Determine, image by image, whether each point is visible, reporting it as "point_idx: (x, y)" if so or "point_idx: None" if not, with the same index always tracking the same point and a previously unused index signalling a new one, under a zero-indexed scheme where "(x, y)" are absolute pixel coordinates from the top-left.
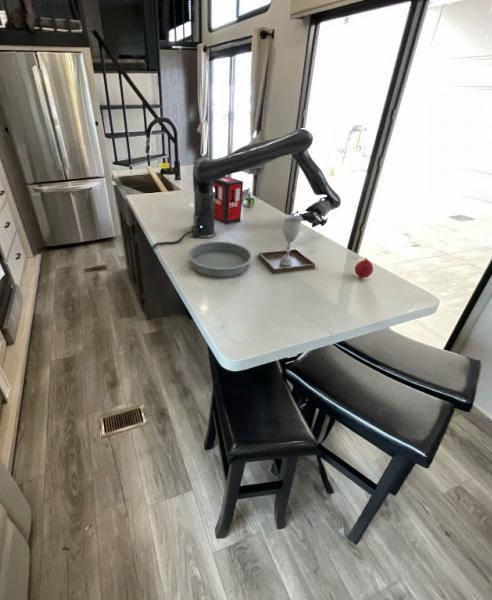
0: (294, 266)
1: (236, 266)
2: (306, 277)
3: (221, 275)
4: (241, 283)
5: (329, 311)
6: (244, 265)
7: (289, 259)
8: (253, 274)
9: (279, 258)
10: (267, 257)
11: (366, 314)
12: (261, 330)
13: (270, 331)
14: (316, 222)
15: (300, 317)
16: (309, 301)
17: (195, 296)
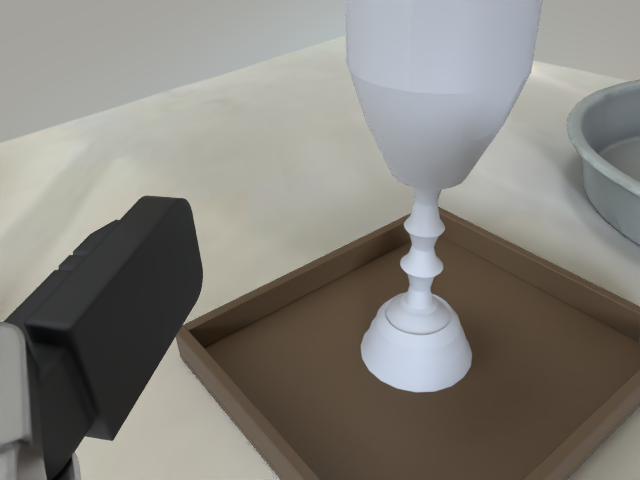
0: (326, 257)
1: (588, 105)
2: (238, 253)
3: (625, 132)
4: (515, 143)
5: (152, 132)
6: (567, 122)
7: (387, 301)
8: (520, 194)
9: (498, 386)
10: (599, 364)
11: (19, 151)
12: (337, 64)
13: (315, 66)
14: (94, 243)
15: (247, 101)
16: (220, 144)
17: (586, 79)
